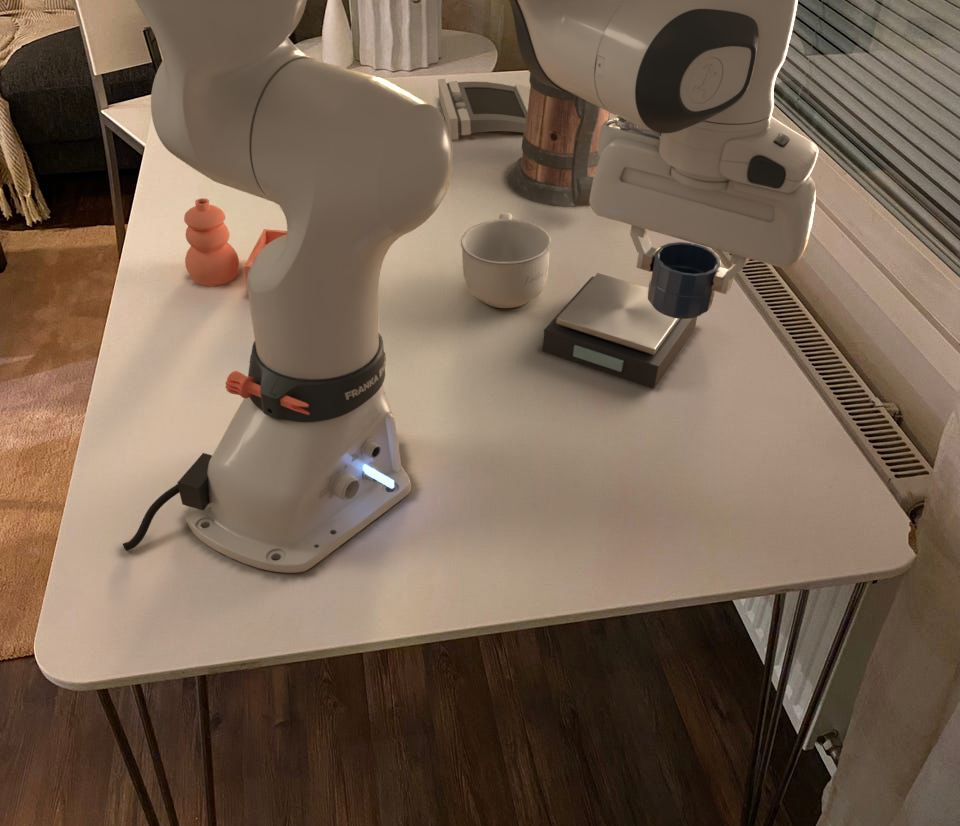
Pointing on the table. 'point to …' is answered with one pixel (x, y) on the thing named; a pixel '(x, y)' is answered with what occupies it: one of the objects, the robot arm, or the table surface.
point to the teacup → (505, 261)
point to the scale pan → (618, 314)
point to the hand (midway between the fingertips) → (683, 278)
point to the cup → (683, 279)
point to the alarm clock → (483, 107)
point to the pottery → (215, 246)
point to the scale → (616, 350)
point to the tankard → (558, 148)
